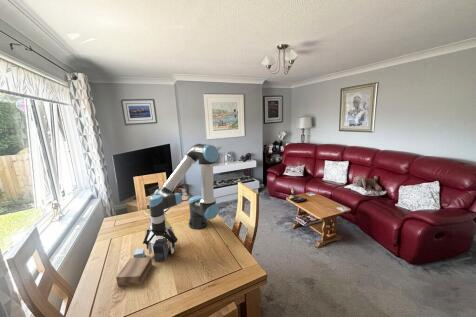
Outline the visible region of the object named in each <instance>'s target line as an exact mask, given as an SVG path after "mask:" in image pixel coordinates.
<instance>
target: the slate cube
mask: <svg viewBox="0 0 476 317" xmlns="http://www.w3.org/2000/svg"><path fill="white" fill-rule="evenodd" d="M145 256H146V252H145V248H137V249H134V253H133V258H146V257H145Z"/></svg>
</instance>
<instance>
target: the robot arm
mask: <svg viewBox="0 0 476 317" xmlns="http://www.w3.org/2000/svg"><path fill="white" fill-rule="evenodd" d="M218 159H219V151H218V149H217V147H216V146H214V145H212V144H207V143H206V144H203V143H196V144H194V145H192V146H191V147H190V148H189V149H188V150H187V151H186V153H184V156H183V158H182V160H181V161H180V163H179V164H178V165H177V167H176V168H175V169H174V171H173V172H172V173H171V174H170V176H169V177H168V179H167V180H166V181H165V182H164V184H163V185H162V186H161V188H158V189H156V190H155V191H154V192H153V195H152V196H150V197H149V198H148V207H149V213H150V222H151V227H148V228H147V230H146V234H145V237H144V239H143V241H142V244H144V245H146V249H147V251H148V255H151V254H152V253H153V245H152V242H151V241H152V240H153V239H154V237H155V236H156V237H158V236H163V237H165V238H166V239H168V242H170V243H169V246H170V252H171V255H173V254H174V251H175V246H176V243H177V241H178V238H177V237H176V235H175V233H174V232H173V230H172V227H171V226H169V227H166V220H165V218H166V217H165V210H167V209H170V208H172V207H177V206H178V205H181V204H182V202H183V198H182V195H181V193H179V192H176V193H175V192H174V190H175V189H176V187H177V186H178V185H179V183H180V182H181V181H182V179H183V178H184V176H185V175H186V174H187V172H188V171H189V170H190V168H191V167H192V166H193V164H196V162H198V165H199V166H200V174H201V176H200V180H201V186H200V187H201V195H200V194H199V195H194V196H191V197H190V198H189V199H188V204H189V205H188V206H189V220H188V227H189V228H190V229H192V230H200V229H203V228H206V226H208V225H207V224H209V220H213V219H215V218H217V216H218V215H219V212H220V206H219V205H218V204H217V199H216V198H215V197H214V194H215V193H214V165H216V161H217V160H218ZM173 192H174V193H173ZM151 232H152V233H153V234H152V235H151V236H150V234H151ZM149 236H150V237H149ZM148 238H149V239H148Z"/></svg>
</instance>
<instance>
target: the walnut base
mask: <svg viewBox="0 0 476 317" xmlns="http://www.w3.org/2000/svg"><path fill="white" fill-rule="evenodd" d="M152 266H153V261H152V257H151V256H149V257H147V256H146V257H144V258H134V257H130V258H129V260H127V262H126V264H124V266H123V268H122V269H121V270H120V271H119V273H118V274H117V275H116V276H115V279H116V284H117V286H119V287H120V286H140V285H143V283H144V280H145V279H146V277H147V275H148V273H149V272H150V270H151V268H152Z"/></svg>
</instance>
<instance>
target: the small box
mask: <svg viewBox="0 0 476 317" xmlns="http://www.w3.org/2000/svg"><path fill="white" fill-rule="evenodd" d="M170 251H171V248H170V247H169V248H168V244H167V239H166V238H163V239H158V240H156V239H155V241H154V244H153V245H152V252H153V257H154V262H165V261H166V260H167V257H168V255H169V252H170Z"/></svg>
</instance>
